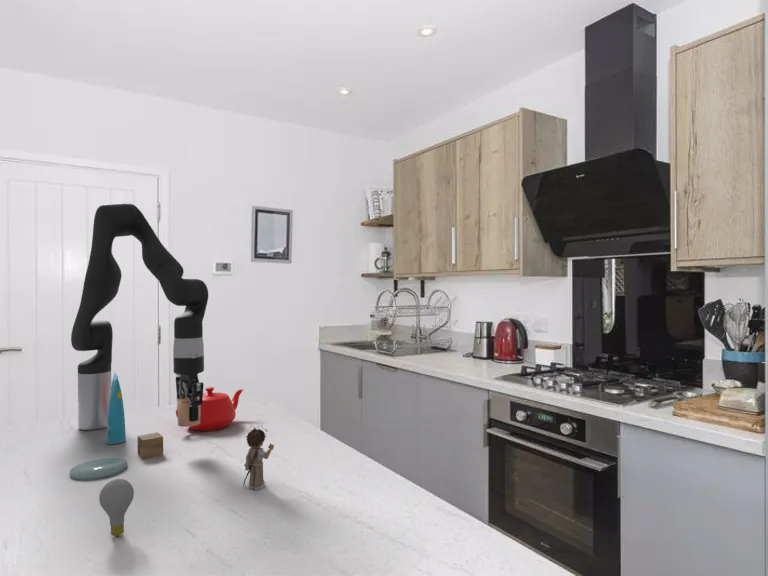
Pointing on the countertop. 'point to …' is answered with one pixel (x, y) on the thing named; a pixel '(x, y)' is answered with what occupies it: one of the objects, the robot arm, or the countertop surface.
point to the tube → (116, 415)
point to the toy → (256, 458)
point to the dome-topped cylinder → (186, 414)
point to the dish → (98, 469)
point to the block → (150, 445)
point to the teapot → (216, 410)
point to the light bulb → (116, 503)
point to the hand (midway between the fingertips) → (189, 418)
